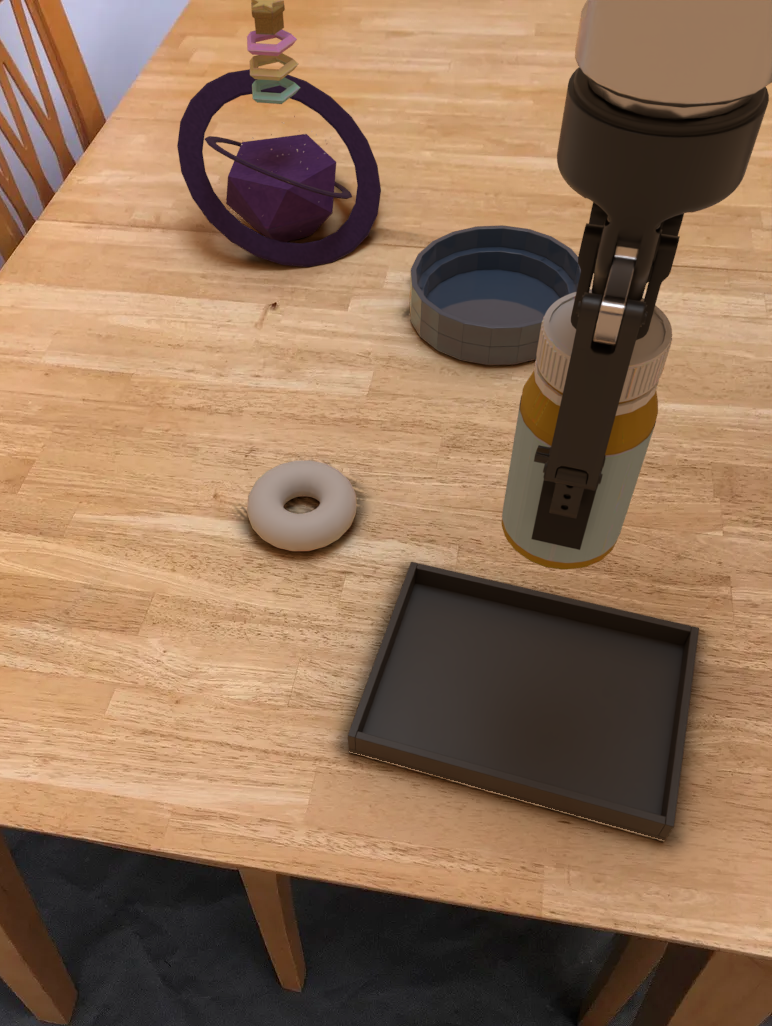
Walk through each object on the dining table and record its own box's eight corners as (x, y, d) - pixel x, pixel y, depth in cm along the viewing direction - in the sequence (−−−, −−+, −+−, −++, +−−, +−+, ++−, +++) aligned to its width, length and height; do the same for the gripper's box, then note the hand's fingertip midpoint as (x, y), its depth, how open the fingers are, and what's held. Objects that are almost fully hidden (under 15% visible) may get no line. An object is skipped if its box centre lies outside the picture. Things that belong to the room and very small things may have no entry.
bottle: (505, 484, 59) (538, 278, 47) (617, 497, 58) (681, 289, 46) (494, 567, 55) (528, 365, 43) (615, 583, 54) (684, 380, 42)
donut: (238, 554, 82) (348, 564, 81) (232, 528, 80) (346, 538, 78) (262, 474, 88) (365, 482, 87) (257, 448, 86) (364, 455, 84)
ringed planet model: (225, 299, 105) (189, 66, 85) (174, 209, 117) (132, -14, 97) (405, 250, 109) (410, 16, 89) (338, 167, 121) (330, -55, 101)
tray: (689, 647, 74) (699, 627, 72) (664, 843, 64) (674, 827, 62) (410, 581, 79) (411, 561, 77) (348, 753, 70) (347, 735, 68)
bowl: (591, 278, 104) (599, 238, 100) (561, 381, 94) (569, 340, 90) (434, 255, 108) (436, 215, 104) (389, 351, 98) (390, 311, 94)
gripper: (611, -34, 42) (538, 372, 60) (518, 195, 31) (464, 607, 49) (787, -20, 40) (657, 393, 58) (756, 228, 29) (608, 642, 47)
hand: (569, 490), depth 54 cm, fingers closed on bottle, 7 cm apart
